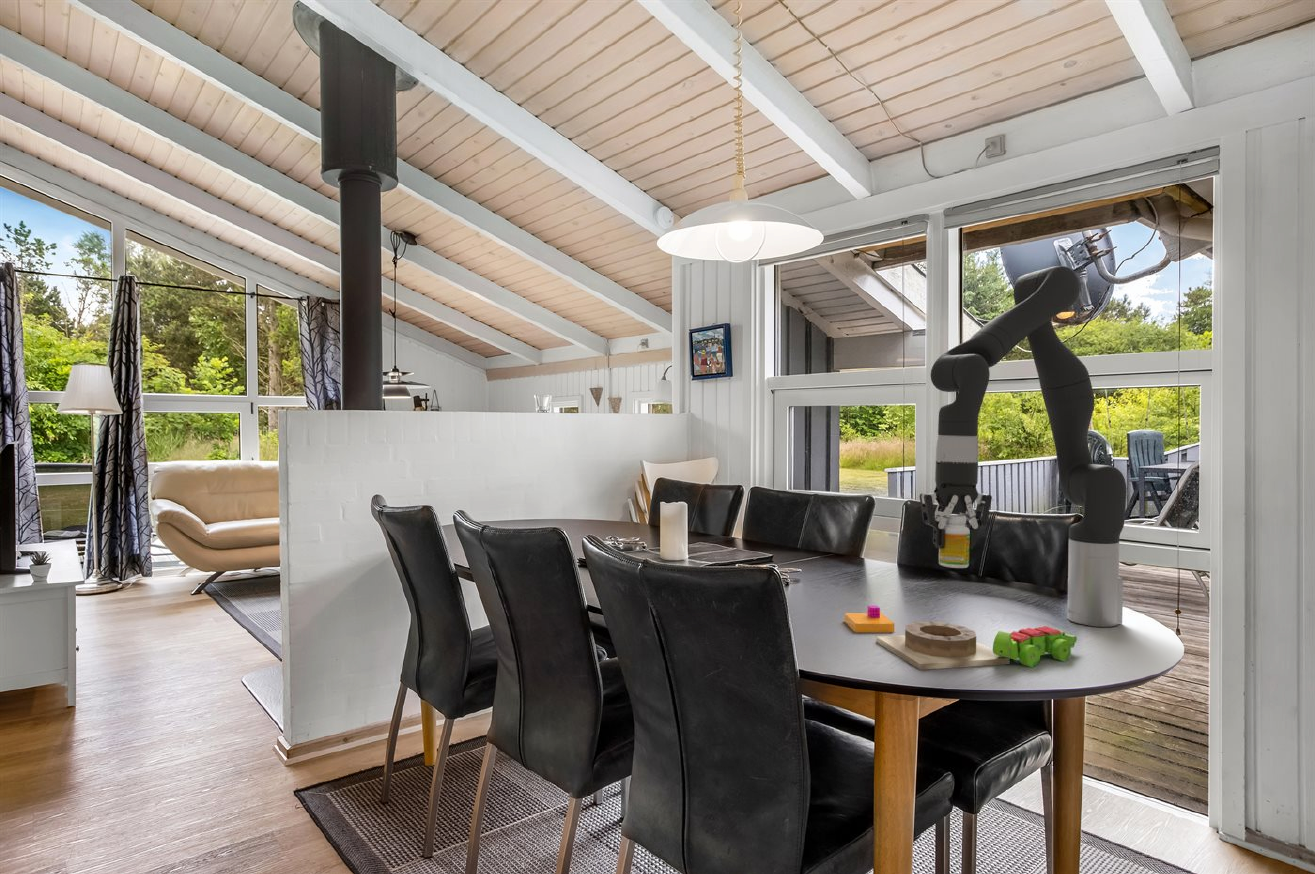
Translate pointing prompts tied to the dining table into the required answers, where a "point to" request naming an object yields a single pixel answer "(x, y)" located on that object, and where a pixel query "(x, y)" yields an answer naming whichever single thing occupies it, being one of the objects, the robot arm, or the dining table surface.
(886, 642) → the flat beige square board
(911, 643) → the wooden ring
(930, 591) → the dining table surface
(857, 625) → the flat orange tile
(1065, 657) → the toy crocodile
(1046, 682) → the dining table surface
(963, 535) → the supplement bottle
